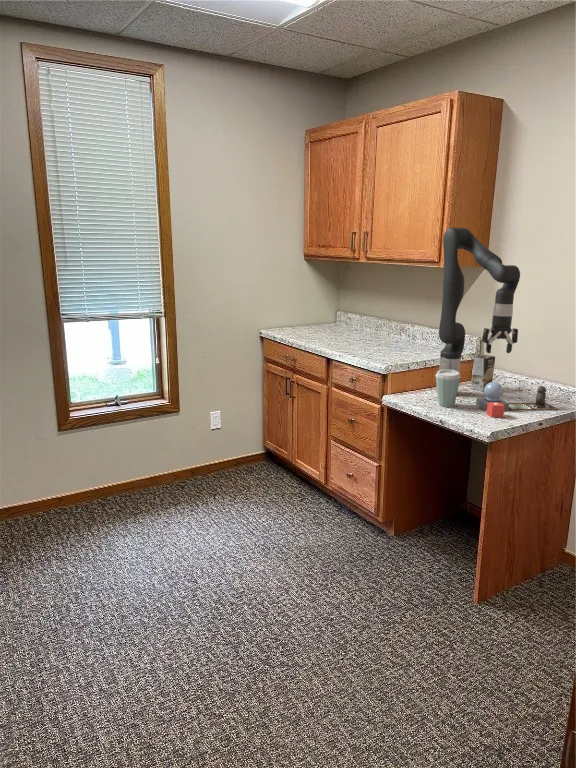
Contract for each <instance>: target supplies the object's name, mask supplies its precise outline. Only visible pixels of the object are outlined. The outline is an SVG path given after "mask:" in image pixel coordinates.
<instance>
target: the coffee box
mask: <svg viewBox="0 0 576 768" xmlns="http://www.w3.org/2000/svg"><path fill="white" fill-rule="evenodd" d="M473 358H474V359H473V365H472V366H473V368H472V378H471V388H470V389H471V390H474V389H476V390H475V391H479V390H480V391H479V392H484V388H485V386H486V385H487V384H488V383H490V382H494V370H495V365H496V364H495V363H496V356H493V355H487V354H483V355H477V356H474V357H473Z"/></svg>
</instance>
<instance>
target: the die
mask: <svg viewBox="0 0 576 768" xmlns="http://www.w3.org/2000/svg"><path fill="white" fill-rule="evenodd" d="M504 408H505V406H504V405H503V404H501V403H500V402H488V403H487V411H486V415H487V416H488V417H490V418H491V417H495V418H496V417H503V418H504V415H505V411H504ZM495 418H494V419H495ZM496 419H497V418H496Z"/></svg>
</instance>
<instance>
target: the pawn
mask: <svg viewBox="0 0 576 768" xmlns="http://www.w3.org/2000/svg"><path fill="white" fill-rule="evenodd" d="M546 395H547V387H545V386H542V385H541V386H538V388H537V392H536V398H535V402H534V403H535V404H533V406H534V407H533V408H535V407H537V408H547V405H545V402H546V397H547V396H546ZM537 408H536V409H537Z"/></svg>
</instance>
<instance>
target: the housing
mask: <svg viewBox="0 0 576 768" xmlns="http://www.w3.org/2000/svg"><path fill="white" fill-rule="evenodd" d="M499 402H500V403H501V404H503V405H504V406H505V408H504V412H505V411H509V409H508V408H509V404H508V403H509V402H507V401H506V400H504V399H502V398H501V397H500V398H499ZM487 403H488V402H487V401H486V397H476V399H475V405H476V406H478V407H479V408H480V407H481V409H482V410H484V411H485V412H487Z"/></svg>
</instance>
